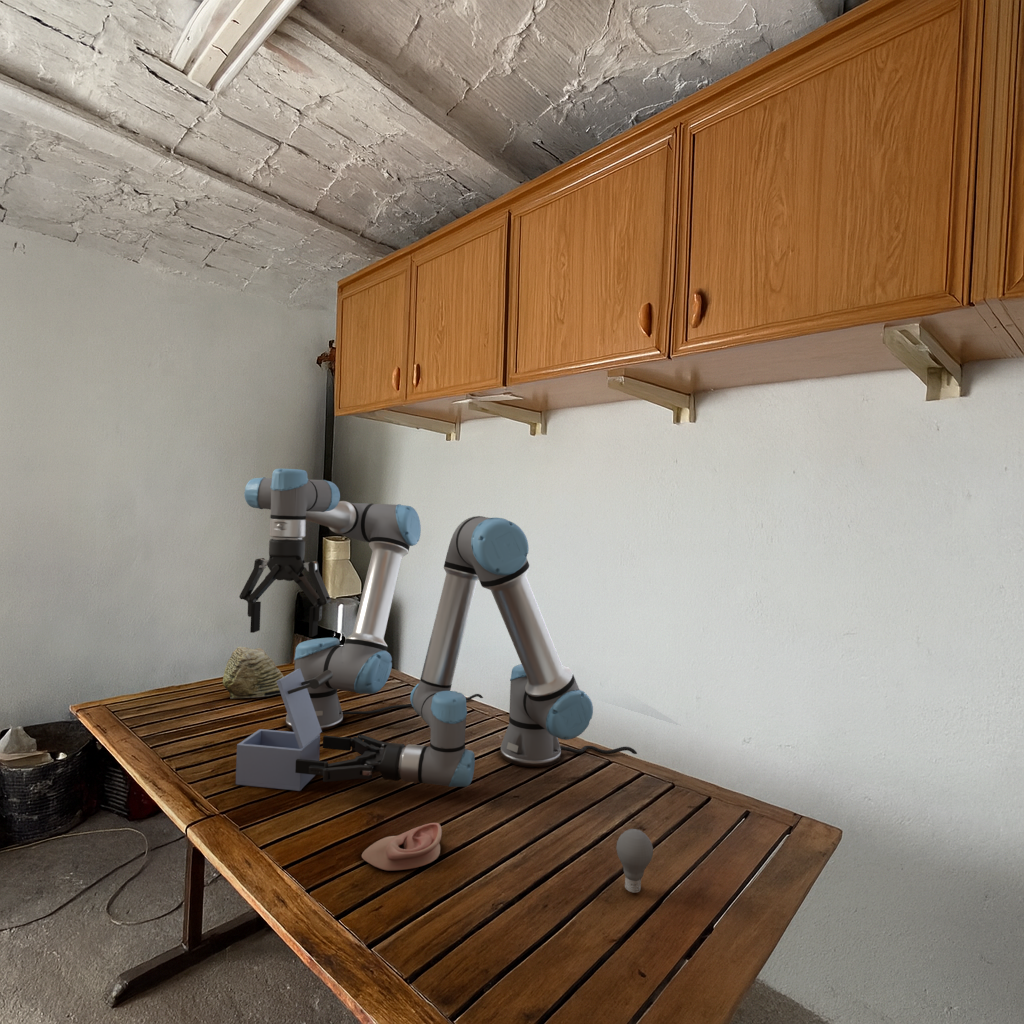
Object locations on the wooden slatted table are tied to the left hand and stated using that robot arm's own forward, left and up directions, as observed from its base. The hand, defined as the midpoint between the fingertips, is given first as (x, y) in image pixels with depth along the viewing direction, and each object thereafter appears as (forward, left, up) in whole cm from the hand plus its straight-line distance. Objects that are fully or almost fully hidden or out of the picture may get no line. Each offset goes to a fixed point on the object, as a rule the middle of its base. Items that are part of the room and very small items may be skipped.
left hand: (283, 633), depth 141 cm
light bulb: (-17, +79, -32) cm, 87 cm away
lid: (-2, +3, -16) cm, 17 cm away
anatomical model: (+1, +43, -32) cm, 54 cm away
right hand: (-4, +6, -26) cm, 27 cm away
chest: (0, 0, -32) cm, 32 cm away
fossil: (-26, -57, -32) cm, 71 cm away
